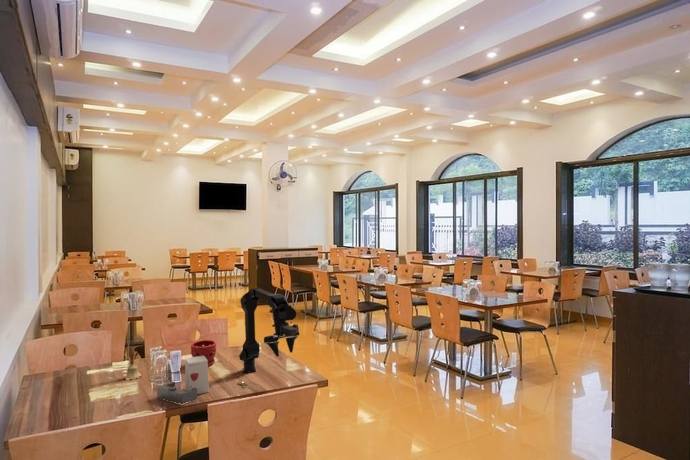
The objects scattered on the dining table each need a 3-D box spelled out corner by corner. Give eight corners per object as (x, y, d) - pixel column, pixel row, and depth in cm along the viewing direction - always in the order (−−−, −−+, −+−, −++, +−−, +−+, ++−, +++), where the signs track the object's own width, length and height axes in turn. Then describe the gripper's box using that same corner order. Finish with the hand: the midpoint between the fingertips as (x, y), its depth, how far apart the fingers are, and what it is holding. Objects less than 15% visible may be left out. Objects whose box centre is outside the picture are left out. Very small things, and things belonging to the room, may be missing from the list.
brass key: (236, 383, 227) (236, 382, 227) (242, 382, 229) (242, 380, 229) (243, 388, 221) (243, 386, 221) (250, 386, 223) (249, 385, 223)
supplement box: (188, 396, 213) (187, 363, 212) (185, 389, 220) (184, 358, 220) (209, 392, 217) (208, 360, 216) (205, 386, 225) (204, 355, 224)
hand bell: (129, 381, 234) (128, 349, 234) (120, 378, 239) (119, 346, 239) (144, 376, 241) (143, 345, 240) (136, 373, 246) (135, 343, 245)
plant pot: (186, 366, 256) (185, 344, 256) (206, 359, 267) (205, 338, 266) (202, 370, 249) (201, 347, 248) (221, 363, 259) (221, 341, 259)
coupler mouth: (173, 392, 218) (172, 380, 218) (197, 399, 208) (196, 387, 208) (157, 398, 211) (157, 385, 211) (181, 405, 202) (181, 392, 201)
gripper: (277, 322, 212) (283, 358, 210) (305, 316, 227) (310, 349, 225) (260, 325, 218) (265, 359, 216) (288, 318, 233) (293, 350, 231)
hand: (284, 354), depth 222 cm, fingers open, 9 cm apart
